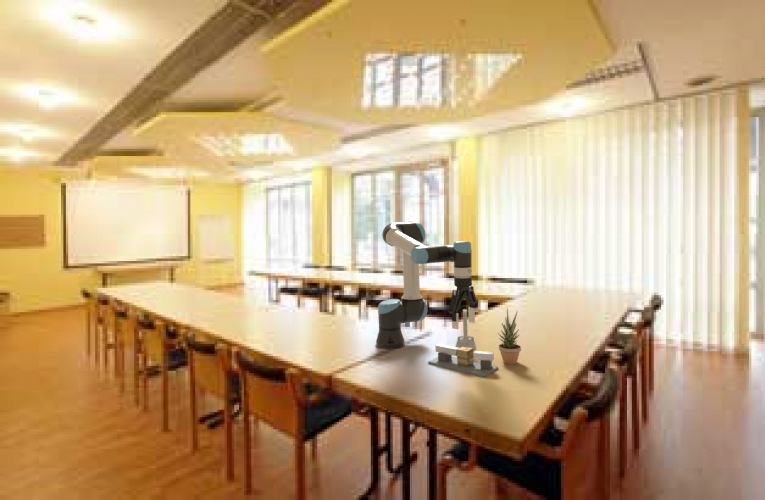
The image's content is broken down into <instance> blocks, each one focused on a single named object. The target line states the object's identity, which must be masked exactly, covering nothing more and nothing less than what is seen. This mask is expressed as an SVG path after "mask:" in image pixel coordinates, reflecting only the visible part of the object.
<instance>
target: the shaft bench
mask: <svg viewBox="0 0 765 500" xmlns="http://www.w3.org/2000/svg"><path fill="white" fill-rule="evenodd" d="M479 361H480V362H478V361H476V360H473V365H471V366H469V367H464V366H459V365H457V356H453V355H449V354H444V353H439V352H437V357H435V358H432V359H430V360H429V361H428V362H427V363H428V364H429V365H433V366H436V367H440V368H441V367H442V368H445V369H449V370H454V371H458V372H461V373H465V374H469V375H470V374H471V375H475V376H477V377H478V376H479V377H482V378H485V377H487V376H488V375H491V374H492V373H493V372H495V371H497V370H499V366H497V365H493V363H492V362H493V361H483V360H479Z"/></svg>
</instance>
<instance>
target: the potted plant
mask: <svg viewBox="0 0 765 500" xmlns="http://www.w3.org/2000/svg"><path fill="white" fill-rule="evenodd" d="M506 308H507V309H506V316H505V317H504V321H505V323H504V322H501V326H502V329H503V330H502V329H500V332H501V334H502V335H501V334H500V333H499V332H497V334H498V335H499V336H500V338H499V340H500V341H501V344H499V345H498V350H499V352H500V355H501V359H502V361H503V363H504V364H507V365H516V364H517V363H518V359H519V356H520V352H521V351H522V347H521V345H519V344H517V343H518V342H517V341H518V340H517V338H519V336H520V334H518V332H519V329H517V330H516V328H517V323H516V319H517V316H518V310H516V312H515V314H514V316H513V317H514V318H513V320H512V322H511V323H510V316H509V308H508V307H506ZM503 323H504V324H503ZM515 330H516V331H515Z"/></svg>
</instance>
